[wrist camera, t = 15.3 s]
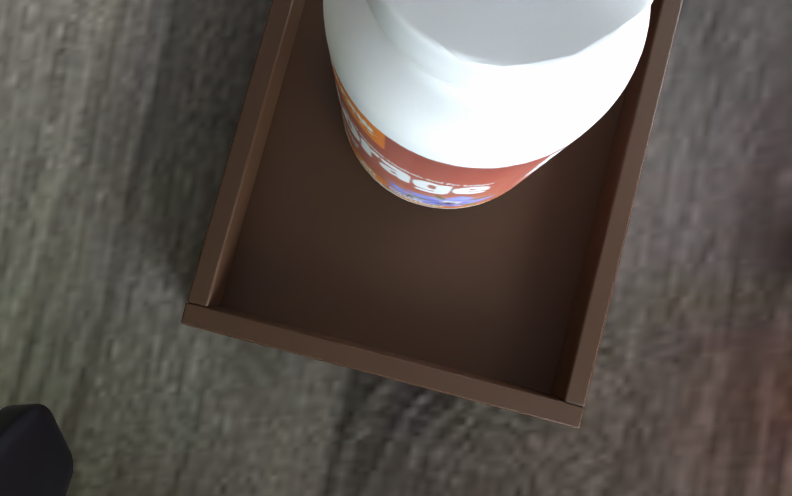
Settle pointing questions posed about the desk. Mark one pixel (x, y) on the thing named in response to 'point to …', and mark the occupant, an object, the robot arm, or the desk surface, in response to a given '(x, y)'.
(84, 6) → the desk surface
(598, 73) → the pill bottle
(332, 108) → the tray
